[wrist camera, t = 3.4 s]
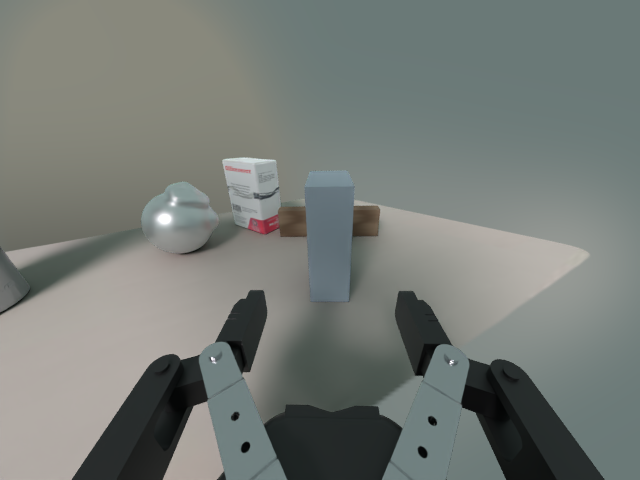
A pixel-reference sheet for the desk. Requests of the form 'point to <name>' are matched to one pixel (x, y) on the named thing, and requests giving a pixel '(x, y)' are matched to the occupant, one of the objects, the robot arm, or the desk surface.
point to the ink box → (253, 193)
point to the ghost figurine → (179, 219)
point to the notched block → (329, 234)
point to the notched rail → (295, 224)
